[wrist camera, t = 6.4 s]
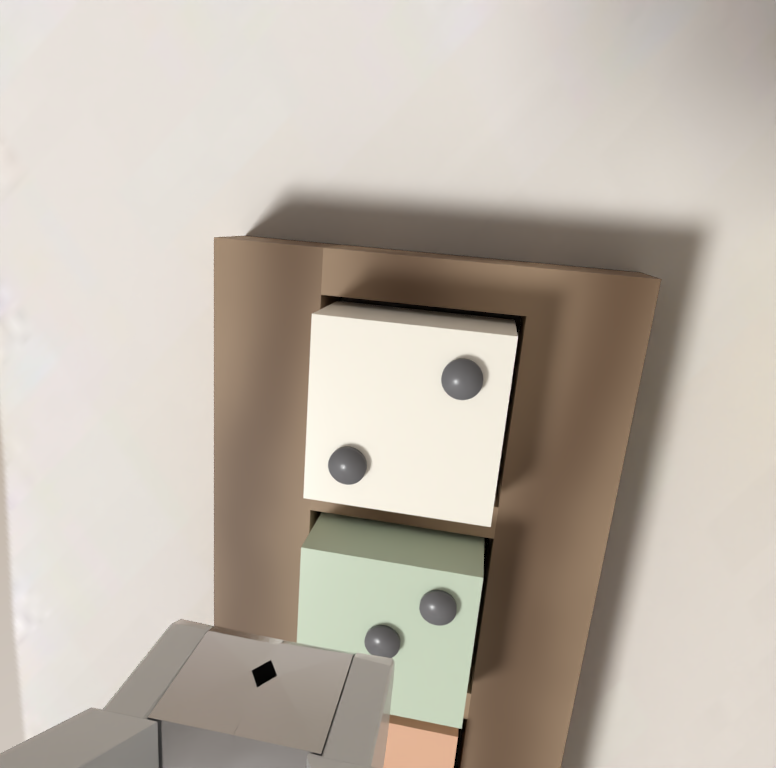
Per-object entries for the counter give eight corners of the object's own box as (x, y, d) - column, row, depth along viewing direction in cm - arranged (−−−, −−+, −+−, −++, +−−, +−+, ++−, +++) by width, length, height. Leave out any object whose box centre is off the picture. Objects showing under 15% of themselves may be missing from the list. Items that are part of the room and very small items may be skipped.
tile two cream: (514, 319, 20) (518, 337, 16) (490, 485, 21) (490, 530, 18) (337, 301, 20) (309, 314, 17) (327, 462, 22) (301, 500, 19)
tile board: (641, 272, 20) (661, 279, 17) (530, 835, 27) (534, 894, 24) (244, 235, 22) (214, 237, 19) (236, 769, 29) (214, 819, 26)
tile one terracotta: (461, 678, 25) (457, 741, 22) (446, 787, 27) (440, 860, 24) (324, 652, 26) (302, 709, 23) (317, 759, 28) (296, 826, 25)
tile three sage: (484, 530, 22) (483, 581, 19) (465, 666, 23) (461, 733, 20) (325, 506, 22) (299, 550, 19) (317, 639, 24) (292, 699, 21)
